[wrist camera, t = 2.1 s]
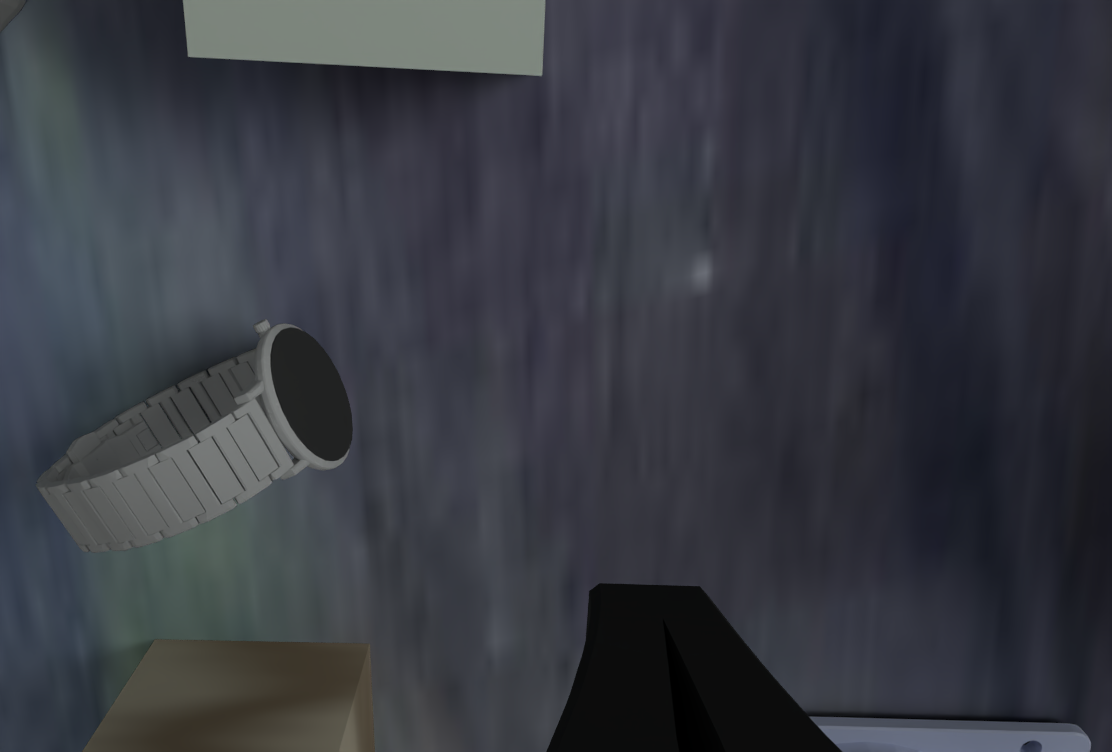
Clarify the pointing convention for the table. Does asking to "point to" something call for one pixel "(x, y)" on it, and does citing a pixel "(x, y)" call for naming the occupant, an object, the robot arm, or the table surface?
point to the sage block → (373, 33)
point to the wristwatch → (203, 445)
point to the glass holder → (9, 11)
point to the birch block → (243, 699)
